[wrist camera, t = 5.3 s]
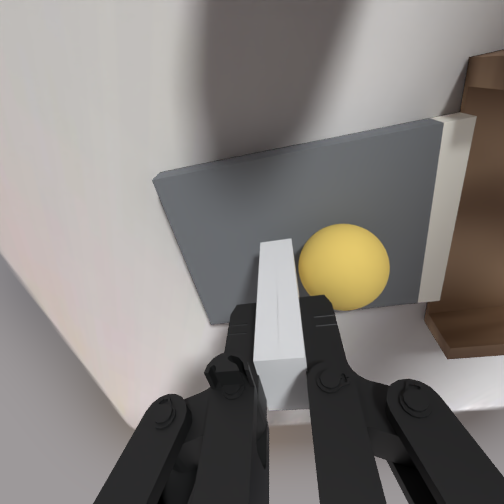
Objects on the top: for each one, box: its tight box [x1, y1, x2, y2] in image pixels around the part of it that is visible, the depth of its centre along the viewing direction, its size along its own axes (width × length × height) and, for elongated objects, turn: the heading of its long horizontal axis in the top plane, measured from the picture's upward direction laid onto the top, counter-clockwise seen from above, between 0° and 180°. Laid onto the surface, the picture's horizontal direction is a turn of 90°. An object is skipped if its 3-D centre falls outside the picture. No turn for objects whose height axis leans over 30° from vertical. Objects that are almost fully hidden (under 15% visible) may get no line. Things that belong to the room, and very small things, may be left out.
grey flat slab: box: [152, 112, 477, 325], centre depth 15 cm, size 10×14×1 cm
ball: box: [298, 224, 390, 311], centre depth 13 cm, size 4×4×4 cm
